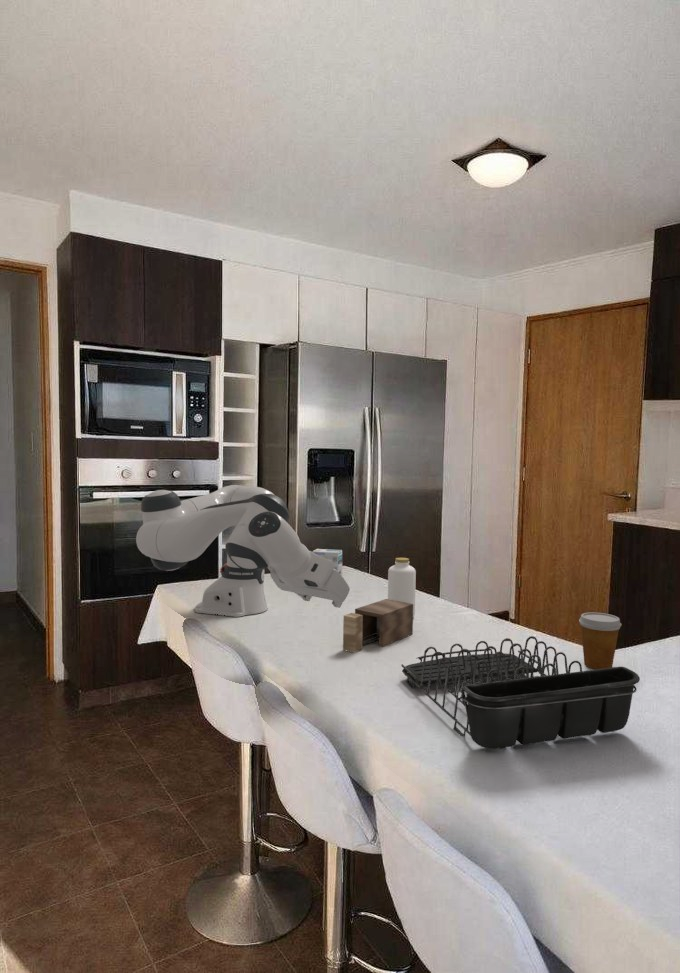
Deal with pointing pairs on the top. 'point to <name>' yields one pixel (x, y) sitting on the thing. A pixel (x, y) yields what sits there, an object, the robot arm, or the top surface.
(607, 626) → the disposable coffee cup
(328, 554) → the light bulb box
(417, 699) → the top surface
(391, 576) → the potion bottle
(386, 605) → the cubby
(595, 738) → the top surface
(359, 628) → the tethered block
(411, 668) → the dish rack
